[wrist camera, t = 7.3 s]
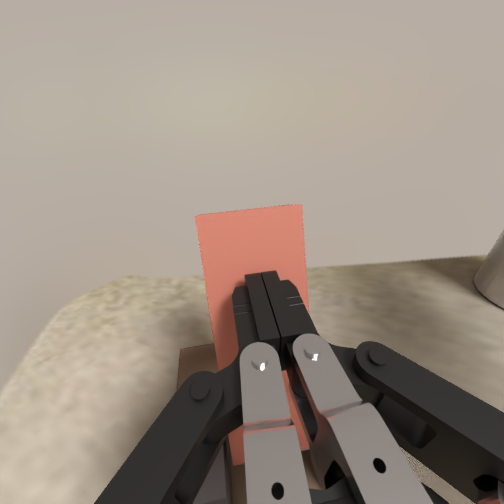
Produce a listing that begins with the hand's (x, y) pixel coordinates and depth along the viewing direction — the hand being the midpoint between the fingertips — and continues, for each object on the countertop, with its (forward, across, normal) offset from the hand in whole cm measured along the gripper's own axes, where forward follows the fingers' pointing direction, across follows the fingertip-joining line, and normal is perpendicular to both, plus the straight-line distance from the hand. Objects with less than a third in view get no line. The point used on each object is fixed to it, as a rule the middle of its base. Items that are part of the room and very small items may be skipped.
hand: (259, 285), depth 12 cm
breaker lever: (-3, 0, +11) cm, 12 cm away
